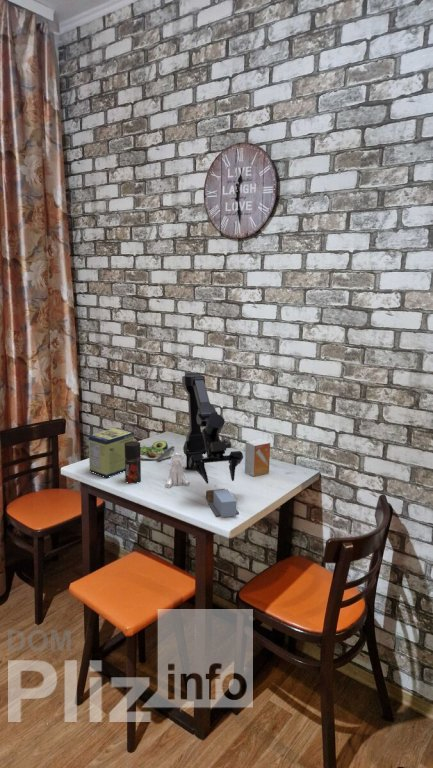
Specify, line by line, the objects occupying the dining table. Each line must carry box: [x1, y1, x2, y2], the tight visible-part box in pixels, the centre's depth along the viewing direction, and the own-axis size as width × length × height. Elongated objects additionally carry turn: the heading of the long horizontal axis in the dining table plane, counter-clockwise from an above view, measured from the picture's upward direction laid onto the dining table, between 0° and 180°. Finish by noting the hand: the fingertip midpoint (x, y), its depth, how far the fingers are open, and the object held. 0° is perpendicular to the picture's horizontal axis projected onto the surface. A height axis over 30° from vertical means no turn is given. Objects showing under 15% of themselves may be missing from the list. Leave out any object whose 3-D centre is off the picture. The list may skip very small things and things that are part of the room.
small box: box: [244, 438, 271, 477], centre depth 212 cm, size 8×6×13 cm
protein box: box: [88, 427, 135, 478], centre depth 212 cm, size 10×16×16 cm
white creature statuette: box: [164, 452, 191, 489], centre depth 200 cm, size 10×9×12 cm
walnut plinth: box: [205, 488, 226, 504], centre depth 186 cm, size 4×7×3 cm, turn 106°
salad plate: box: [140, 440, 175, 462], centre depth 232 cm, size 19×18×5 cm
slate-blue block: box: [213, 488, 237, 518], centre depth 177 cm, size 5×5×10 cm
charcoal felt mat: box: [207, 502, 240, 518], centre depth 179 cm, size 10×8×1 cm
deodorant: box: [124, 440, 142, 484], centre depth 201 cm, size 6×6×15 cm
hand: (220, 481), depth 181 cm, fingers open, 9 cm apart
